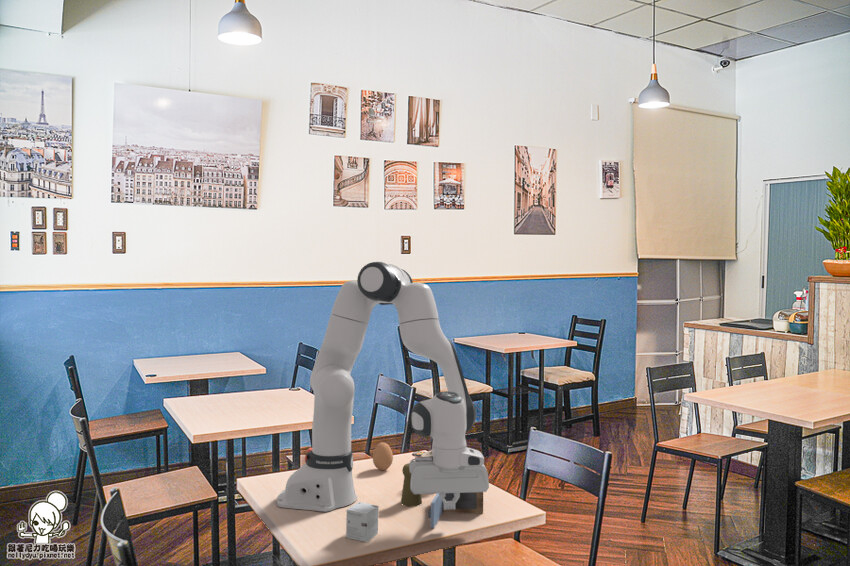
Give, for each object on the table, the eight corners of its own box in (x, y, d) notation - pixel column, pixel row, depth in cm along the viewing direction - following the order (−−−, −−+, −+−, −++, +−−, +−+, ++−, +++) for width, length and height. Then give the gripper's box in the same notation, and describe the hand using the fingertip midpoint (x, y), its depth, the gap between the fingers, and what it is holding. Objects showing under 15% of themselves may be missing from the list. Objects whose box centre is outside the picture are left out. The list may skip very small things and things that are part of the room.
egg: (397, 470, 216) (397, 442, 216) (381, 474, 212) (381, 446, 211) (384, 465, 221) (384, 438, 221) (368, 469, 216) (368, 442, 216)
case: (439, 512, 180) (439, 486, 180) (439, 500, 190) (439, 475, 189) (483, 513, 180) (483, 487, 180) (481, 501, 189) (481, 475, 189)
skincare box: (345, 538, 164) (345, 509, 163) (358, 529, 169) (358, 501, 169) (367, 542, 161) (367, 513, 161) (378, 533, 167) (378, 504, 167)
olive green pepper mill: (419, 507, 184) (419, 468, 184) (398, 505, 185) (398, 466, 185) (423, 499, 190) (424, 461, 190) (403, 497, 191) (403, 460, 191)
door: (436, 511, 180) (436, 488, 180) (443, 512, 180) (443, 489, 180) (426, 527, 170) (427, 502, 170) (434, 528, 169) (434, 503, 169)
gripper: (409, 461, 166) (410, 515, 166) (490, 458, 168) (490, 512, 168) (408, 453, 172) (408, 505, 173) (485, 451, 174) (485, 503, 175)
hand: (449, 508), depth 171 cm, fingers closed
